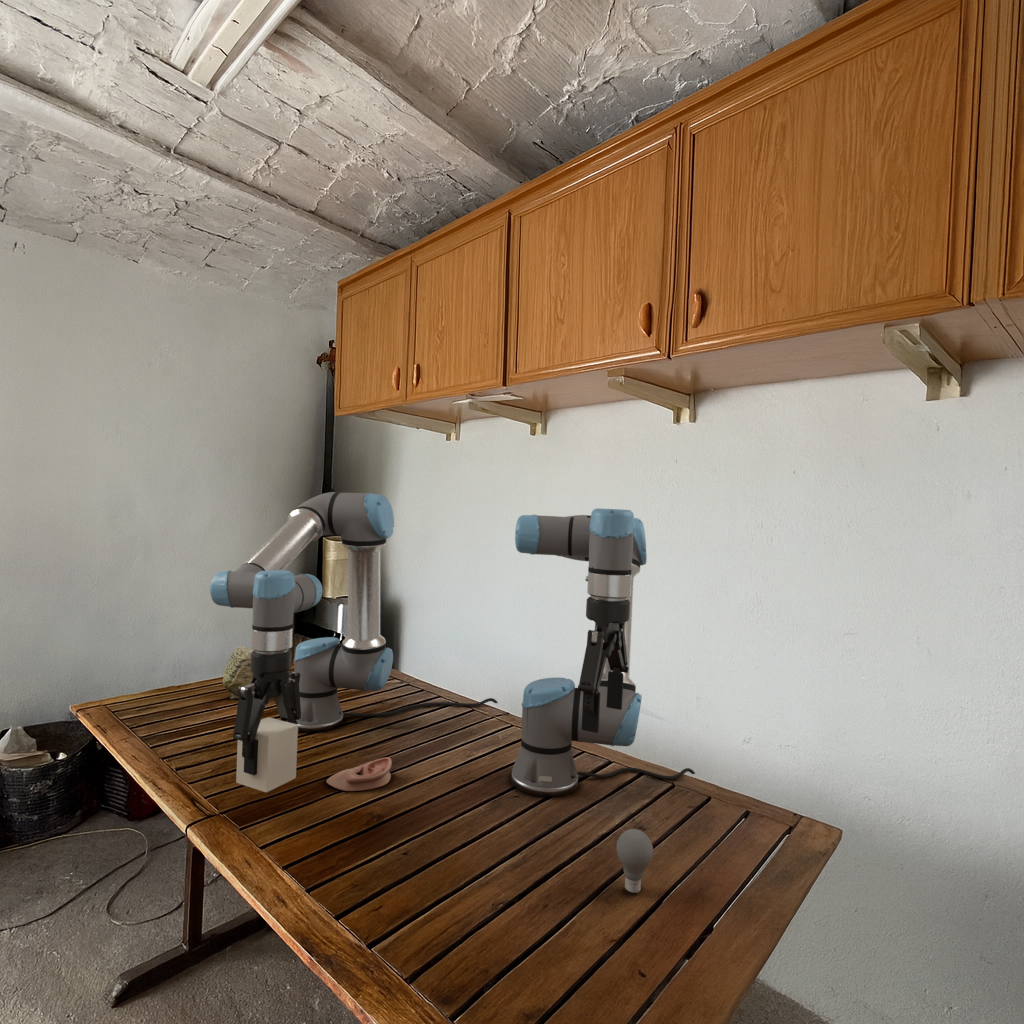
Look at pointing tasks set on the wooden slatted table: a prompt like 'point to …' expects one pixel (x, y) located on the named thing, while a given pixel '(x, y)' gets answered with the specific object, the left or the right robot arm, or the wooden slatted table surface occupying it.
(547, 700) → the right robot arm
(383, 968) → the wooden slatted table surface
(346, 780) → the anatomical model
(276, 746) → the brick
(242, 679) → the fossil
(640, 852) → the light bulb
